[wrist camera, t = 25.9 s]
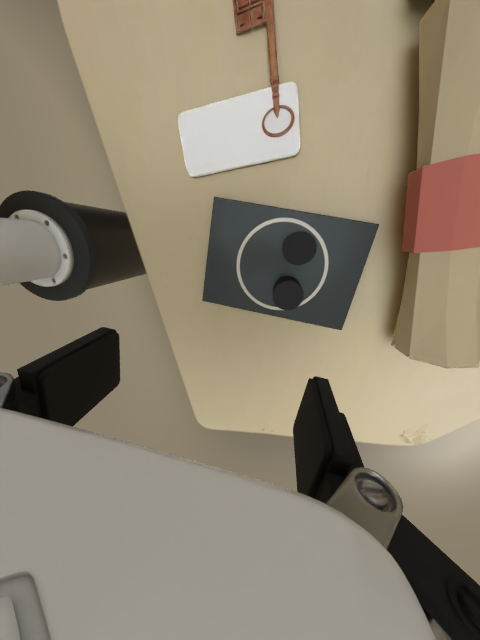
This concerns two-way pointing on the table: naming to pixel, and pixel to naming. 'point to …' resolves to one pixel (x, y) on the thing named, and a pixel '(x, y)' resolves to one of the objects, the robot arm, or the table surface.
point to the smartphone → (239, 132)
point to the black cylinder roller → (287, 293)
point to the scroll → (445, 195)
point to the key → (269, 18)
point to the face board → (284, 260)
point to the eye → (299, 247)
